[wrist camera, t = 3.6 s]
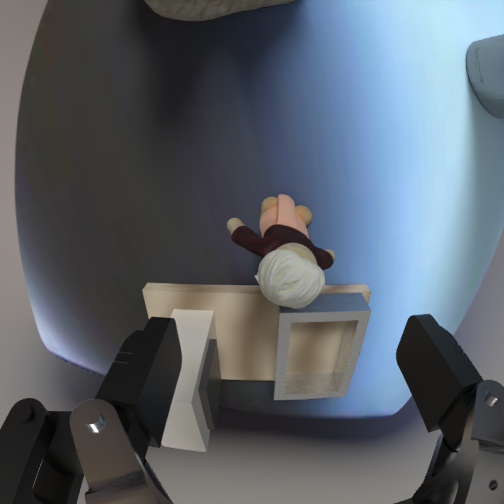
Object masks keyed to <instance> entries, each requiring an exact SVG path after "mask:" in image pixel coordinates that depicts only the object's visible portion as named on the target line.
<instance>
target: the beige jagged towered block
mask: <svg viewBox="0 0 504 504" xmlns="http://www.w3.org/2000/svg"><path fill="white" fill-rule="evenodd" d="M144 1H145V2H146V3H147V4H148V6H149V7H150V8H152V9H153V11H154V12H155V13H157V14H159V15H161V16H162V17H167V18H172V19H177V20H184V21H185V20H186V21H205V20H212V19H215V18H218V17H222V16H226V15H229V14H232V13H237V12H240V11H245V10H253V9H258V8H261V7H267V6H274V5H279V4H287V3H290V2H293V1H295V0H144Z"/></svg>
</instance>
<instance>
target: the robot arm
mask: <svg viewBox="0 0 504 504" xmlns="http://www.w3.org/2000/svg"><path fill="white" fill-rule="evenodd" d="M466 60H467V70H468V75H469V78H470V81H471V84H472V86H473V89H474V91H475V93H476V95H477V97H478V99H479V100H480V102H481V103H482V105H483V106H484V107H485V108H486V109H487V110H488V111H489V112H490V113H491V114H492V115H494V116H496V117H498V118H504V34H503V35H498V36H494V37H490V38H486V39H482V40H478V41H475V42H473V43H472V44H471V45H470V46H469V48H468V51H467V57H466ZM119 351H120V352H119V353H118V354H117V356H116V358H115V362H113V364H112V365H111V367H110V369H109V371H108V373H107V375H106V377H105V379H104V381H103V383H102V385H101V387H100V389H99V391H98V393H97V395H96V397H95V398H94V399H90V400H86V401H84V402H82V403H80V404H79V405H77V407H75V408H74V410H73V411H71V412H67V411H65V412H64V411H47V410H46V409H45V408H44V406H43V405H42V403H40V402H39V401H38V400H36V399H33V398H26V399H22V400H20V401H18V402H17V403H16V404H15V405H14V406H13V407H12V409H11V410H10V412H9V414H8V416H7V418H6V420H5V422H4V423H3V425H2V427H1V429H0V504H77V500H78V495H79V492H80V488H81V484H82V481H83V477H84V475H85V478H86V480H87V483H88V487H89V490H88V491H87V492H86V493H85V501H86V504H174V503H173V502H172V500H171V499H170V497H169V496H168V494H167V493H166V491H165V489H164V488H163V486H162V485H161V483H160V481H159V479H158V478H157V476H156V474H155V472H154V471H153V469H152V467H151V465H150V464H149V462H148V460H147V458H146V453H147V449H148V446H152V447H158V448H160V445H161V441H162V437H163V434H164V430H165V426H166V422H167V418H168V415H169V411H170V407H171V403H172V400H173V396H174V393H175V389H176V385H177V382H178V378H179V375H180V371H181V367H182V351H181V346H180V341H179V336H178V331H177V326H176V321H175V319H174V318H166V317H151V318H150V319H149V321H148V323H147V325H146V327H145V329H144V331H140V330H136V331H135V332H134V333H133V334H131V335H130V336H129V337H128V338H127V339H125V341H124V343H123V345H122V347H121V349H120V350H119ZM396 360H397V364H398V366H399V368H400V370H401V372H402V374H403V376H404V379H405V381H406V383H407V385H408V387H409V389H410V391H411V394H412V396H413V398H414V400H415V402H416V405H417V407H418V409H419V411H420V414H421V416H422V418H423V421H424V423H425V425H426V428H427V430H428V432H432V431H435V430H438V429H441V431H442V433H441V435H440V436H439V438H438V440H437V444H436V447H435V450H434V453H433V456H432V460H431V462H430V466H429V468H428V471H427V474H426V476H425V479H424V481H423V483H422V484H421V486H420V487H419V488H418V490H417V491H416V492H415V493H414V495H413V497H412V498H410V499H407V500H404V501H401V502H398V503H395V504H504V387H503V386H502V385H501V384H500V383H498V382H496V381H493V380H485V381H484V380H483V379H482V377H481V376H480V374H479V373H478V371H477V370H476V368H475V367H474V365H473V364H472V362H471V361H470V360H469V358H468V357H467V355H466V354H465V353H463V350H462V348H461V347H460V345H458V343H457V341H456V340H455V339H454V337H453V336H452V335H451V334H450V333H449V332H448V331H447V330H445V329H444V328H442V327H441V326H439V324H438V323H437V322H436V320H435V319H434V318H433V316H432V315H430V314H423V315H413V316H410V317H409V319H408V321H407V323H406V326H405V329H404V332H403V334H402V337H401V340H400V342H399V345H398V348H397V352H396ZM42 460H43V461H42ZM41 462H42V464H41ZM40 464H41V467H40ZM39 467H40V470H39ZM38 470H39V472H38ZM37 473H38V475H37ZM36 476H37V478H36ZM35 478H36V481H35ZM34 481H35V484H34ZM33 484H34V487H33Z"/></svg>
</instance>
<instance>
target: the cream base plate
mask: <svg viewBox="0 0 504 504" xmlns="http://www.w3.org/2000/svg"><path fill="white" fill-rule="evenodd" d="M142 291H143V295H144V300H145V304H146V308H147V312H148V316H149V319H150V318H151V317H166V318H170V317H171V314H172V312H173V310H174V309H183V310H206V311H214V317H215V327H216V336H217V345H218V354H219V362H220V372H221V379H230V380H273V379H274V363H275V345H276V326H277V304H275V303H273V302H272V301H270V300H268V299H267V298H266V297H265V296H264V295H263V293H262V292H261V289H260V285H198V284H165V283H147V284H146V286H145V287H144V289H143V290H142ZM355 292H362V294H363V296H364V298H365V300H366V301H367V303H369V298H370V294H371V291H370V290H369V288H368V286H367V285H366V284H356V285H324V287H323V289H322V291H321V293H355ZM345 324H346V321H328V322H291V328H290V339H289V350H288V360H287V370H286V375H292V374H316V373H332V372H334V370H335V366H336V362H337V358H338V354H339V350H340V346H341V342H342V338H343V333H344V329H345Z"/></svg>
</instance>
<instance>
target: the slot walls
mask: <svg viewBox="0 0 504 504" xmlns="http://www.w3.org/2000/svg"><path fill="white" fill-rule="evenodd" d="M370 313H371V309H370V307H369V305H368V303H367V301H366V300H365V298H364V296H363V294H362V292H355V293H320V294H319V295H318V297H317V298H316V299H315V300H314V301H312V302H311V303H310V304H308V305H307V306H305V307H303V308H297V309H296V308H291V307H286V306H280V305H277V326H276V345H275V363H274V379H273V383H274V400H297V399H316V398H329V397H340V396H345V395H346V392H347V390H348V387H349V384H350V381H351V378H352V375H353V372H354V369H355V366H356V363H357V359H358V356H359V353H360V350H361V346H362V343H363V339H364V336H365V332H366V328H367V325H368V321H369V317H370ZM328 321H346V324H345V329H344V333H343V338H342V342H341V346H340V350H339V354H338V358H337V362H336V366H335V370H334V372H332V373H316V374H292V375H286V370H287V360H288V350H289V339H290V328H291V322H328Z"/></svg>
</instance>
